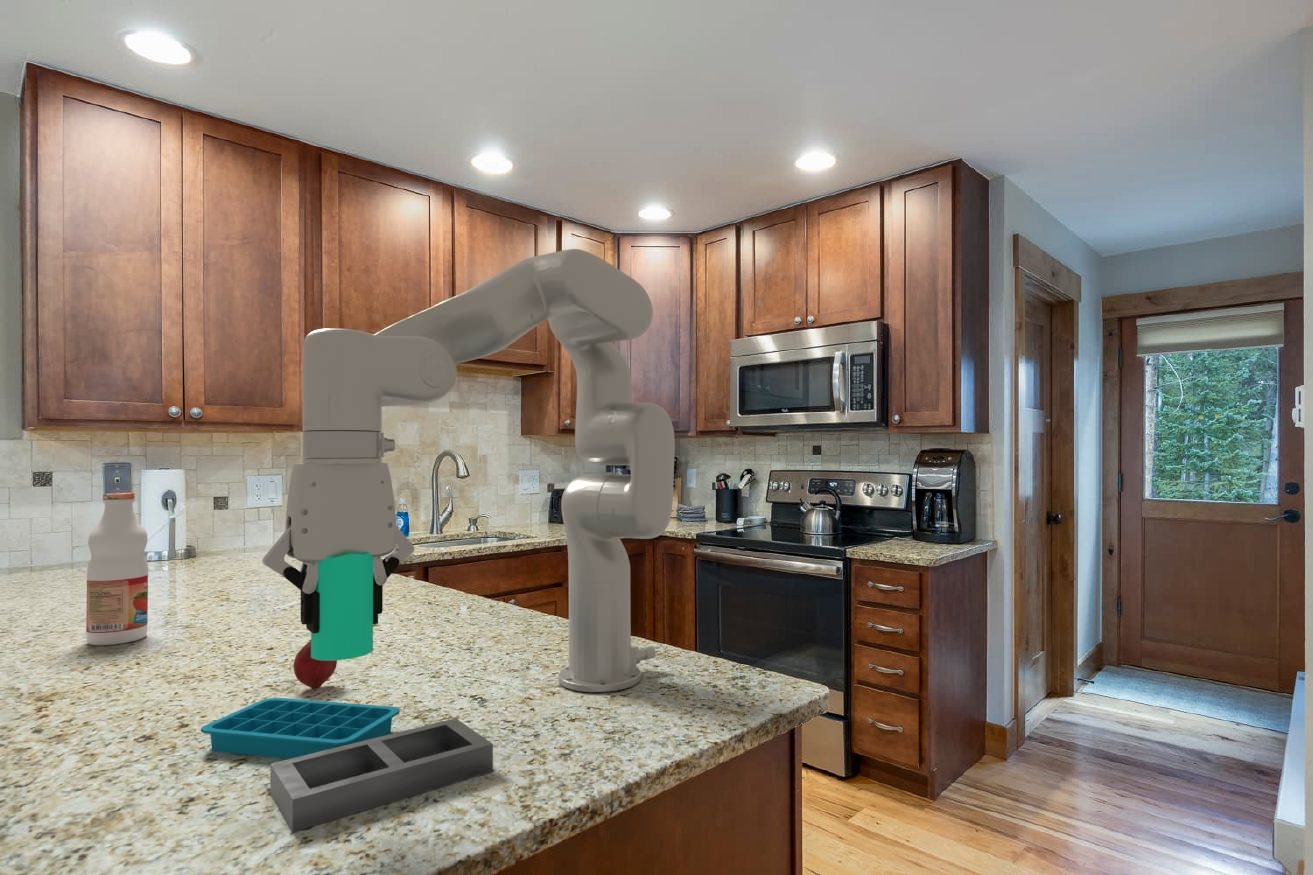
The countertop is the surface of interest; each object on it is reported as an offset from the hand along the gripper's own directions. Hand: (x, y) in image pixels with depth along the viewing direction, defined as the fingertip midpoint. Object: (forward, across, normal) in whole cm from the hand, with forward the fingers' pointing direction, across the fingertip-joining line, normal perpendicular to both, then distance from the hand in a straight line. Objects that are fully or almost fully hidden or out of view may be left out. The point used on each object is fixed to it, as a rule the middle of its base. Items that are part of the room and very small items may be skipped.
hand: (342, 624), depth 74 cm
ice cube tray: (+18, 0, -18) cm, 25 cm away
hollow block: (+17, -4, 0) cm, 18 cm away
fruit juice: (+17, +16, -94) cm, 97 cm away
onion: (+17, -6, -38) cm, 42 cm away
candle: (+3, 0, 0) cm, 3 cm away
